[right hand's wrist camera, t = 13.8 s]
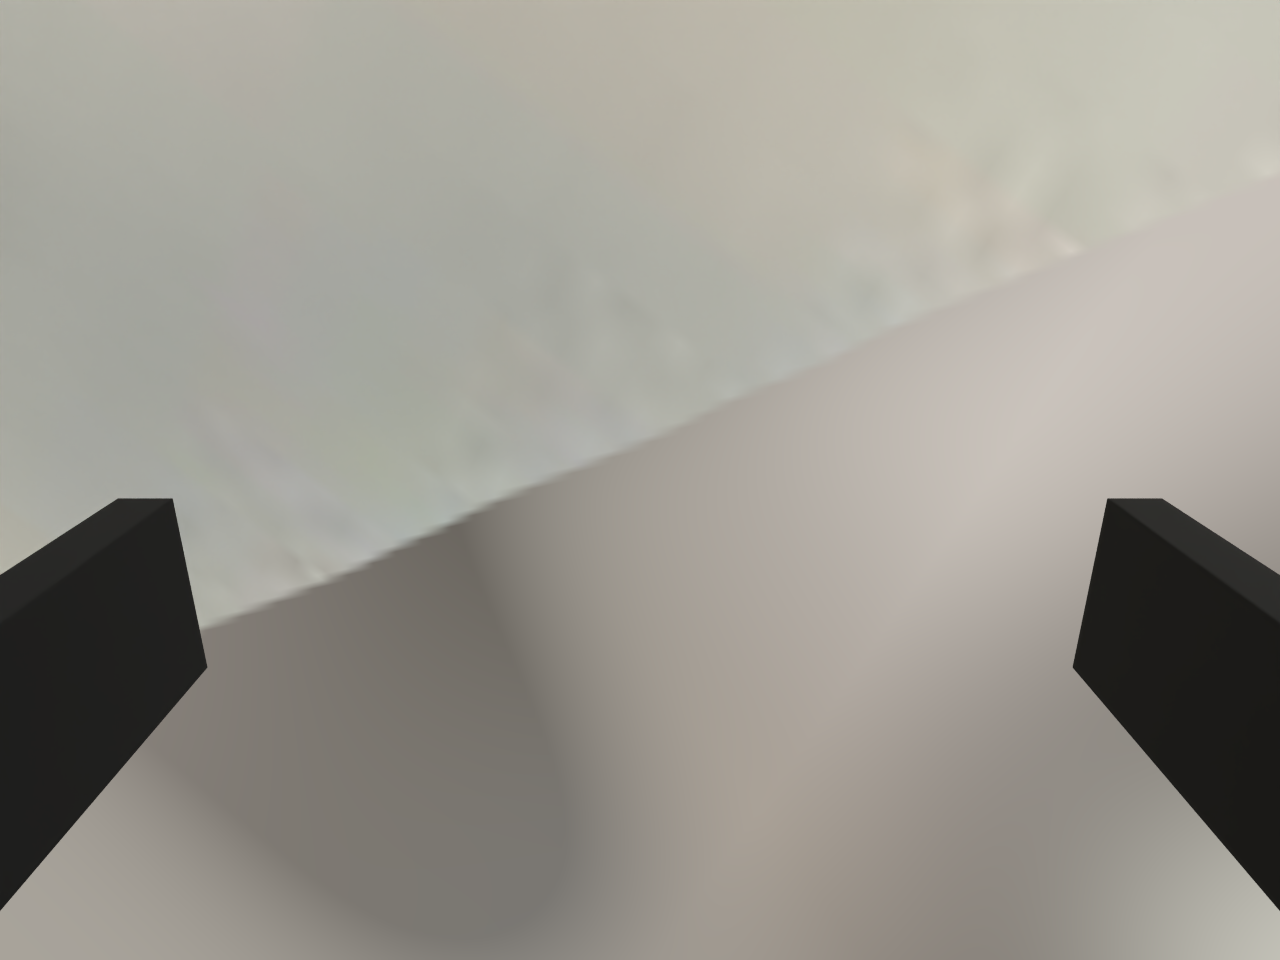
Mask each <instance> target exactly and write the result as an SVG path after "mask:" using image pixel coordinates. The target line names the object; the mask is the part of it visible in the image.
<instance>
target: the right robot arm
mask: <svg viewBox="0 0 1280 960" xmlns="http://www.w3.org/2000/svg"><path fill="white" fill-rule="evenodd" d="M206 668H207V664H206V659H205V654H204V649H203V644H202V639H201V634H200V629H199V625H198V620H197V615H196V610H195V605H194V600H193V595H192V591H191V586H190V581H189V576H188V571H187V566H186V561H185V557H184V552H183V547H182V542H181V537H180V532H179V527H178V523H177V518H176V513H175V508H174V503H173V499H117V500H115V501H113V502H112V503H110V504H109V505H107V506H106V507H104V508H103V509H101V510H100V511H98V512H97V513H95V514H93V515H92V516H90V517H89V518H87V519H86V520H84V521H83V522H81V523H80V524H78V525H77V526H75V527H73V528H72V529H70V530H69V531H67V532H66V533H64V534H63V535H61V536H60V537H58V538H57V539H55V540H53V541H52V542H50V543H49V544H47V545H46V546H44V547H43V548H41V549H40V550H38V551H37V552H35V553H33V554H32V555H30V556H29V557H27V558H26V559H24V560H23V561H21V562H20V563H18V564H17V565H15V566H13V567H12V568H10V569H9V570H7V571H6V572H4V573H3V574H1V575H0V910H1V909H2V908H3V907H4V906H5V904H6V903H7V902H8V901H9V900H10V899H11V897H12V896H13V895H14V894H15V893H16V892H17V890H18V889H19V888H20V887H21V886H22V884H23V883H24V882H25V881H26V880H27V879H28V877H29V876H30V875H31V874H32V873H33V872H34V870H35V869H36V868H37V867H38V866H39V865H40V863H41V862H42V861H43V860H44V859H45V857H46V856H47V855H48V854H49V853H50V852H51V850H52V849H53V848H54V847H55V846H56V845H57V843H58V842H59V841H60V840H61V839H62V838H63V836H64V835H65V834H66V833H67V832H68V830H69V829H70V828H71V827H72V826H73V825H74V823H75V822H76V821H77V820H78V819H79V818H80V816H81V815H82V814H83V813H84V812H85V810H86V809H87V808H88V807H89V806H90V805H91V803H92V802H93V801H94V800H95V799H96V797H97V796H98V795H99V794H100V793H101V792H102V791H103V789H104V788H105V787H106V786H107V785H108V783H109V782H110V781H111V780H112V779H113V778H114V776H115V775H116V774H117V773H118V772H119V771H120V769H121V768H122V767H123V766H124V765H125V764H126V762H127V761H128V760H129V759H130V758H131V756H132V755H133V754H134V753H135V752H136V751H137V749H138V748H139V747H140V746H141V745H142V744H143V742H144V741H145V740H146V739H147V738H148V736H149V735H150V734H151V733H152V732H153V731H154V729H155V728H156V727H157V726H158V725H159V724H160V722H161V721H162V720H163V719H164V718H165V717H166V715H167V714H168V713H169V712H170V711H171V709H172V708H173V707H174V706H175V705H176V704H177V702H178V701H179V700H180V699H181V698H182V697H183V695H184V694H185V693H186V692H187V691H188V690H189V688H190V687H191V686H192V685H193V684H194V682H195V681H196V680H197V679H198V678H199V677H200V675H201V674H202V673H203V672H204V671H205V670H206ZM1073 668H1074V670H1075V671H1076V672H1077V673H1078V674H1079V675H1080V677H1081V678H1082V679H1083V680H1084V681H1085V682H1086V684H1087V685H1088V686H1089V687H1090V688H1091V689H1092V691H1093V692H1094V693H1095V694H1096V695H1097V697H1098V698H1099V699H1100V700H1101V701H1102V702H1103V704H1104V705H1105V706H1106V707H1107V708H1108V709H1109V711H1110V712H1111V713H1112V714H1113V715H1114V717H1115V718H1116V719H1117V720H1118V721H1119V722H1120V724H1121V725H1122V726H1123V727H1124V728H1125V729H1126V731H1127V732H1128V733H1129V734H1130V735H1131V736H1132V738H1133V739H1134V740H1135V741H1136V742H1137V744H1138V745H1139V746H1140V747H1141V748H1142V749H1143V751H1144V752H1145V753H1146V754H1147V755H1148V756H1149V758H1150V759H1151V760H1152V761H1153V762H1154V764H1155V765H1156V766H1157V767H1158V768H1159V769H1160V771H1161V772H1162V773H1163V774H1164V775H1165V776H1166V778H1167V779H1168V780H1169V781H1170V782H1171V783H1172V785H1173V786H1174V787H1175V788H1176V789H1177V790H1178V792H1179V793H1180V794H1181V795H1182V796H1183V798H1184V799H1185V800H1186V801H1187V802H1188V803H1189V805H1190V806H1191V807H1192V808H1193V809H1194V811H1195V812H1196V813H1197V814H1198V815H1199V816H1200V818H1201V819H1202V820H1203V821H1204V822H1205V823H1206V825H1207V826H1208V827H1209V828H1210V829H1211V830H1212V832H1213V833H1214V834H1215V835H1216V836H1217V838H1218V839H1219V840H1220V841H1221V842H1222V843H1223V845H1224V846H1225V847H1226V848H1227V849H1228V850H1229V852H1230V853H1231V854H1232V855H1233V856H1234V857H1235V859H1236V860H1237V861H1238V862H1239V863H1240V865H1241V866H1242V867H1243V868H1244V869H1245V870H1246V872H1247V873H1248V874H1249V875H1250V876H1251V877H1252V879H1253V880H1254V881H1255V882H1256V883H1257V884H1258V886H1259V887H1260V888H1261V889H1262V890H1263V892H1264V893H1265V894H1266V895H1267V896H1268V897H1269V899H1270V900H1271V901H1272V902H1273V903H1274V904H1275V906H1276V907H1277V908H1278V909H1279V910H1280V575H1279V574H1277V573H1276V572H1274V571H1273V570H1271V569H1270V568H1268V567H1267V566H1265V565H1263V564H1262V563H1260V562H1259V561H1257V560H1256V559H1254V558H1253V557H1251V556H1250V555H1248V554H1246V553H1245V552H1243V551H1242V550H1240V549H1239V548H1237V547H1236V546H1234V545H1233V544H1231V543H1230V542H1228V541H1226V540H1225V539H1223V538H1222V537H1220V536H1219V535H1217V534H1216V533H1214V532H1213V531H1211V530H1210V529H1208V528H1206V527H1205V526H1203V525H1202V524H1200V523H1199V522H1197V521H1196V520H1194V519H1193V518H1191V517H1190V516H1188V515H1187V514H1185V513H1183V512H1182V511H1180V510H1179V509H1177V508H1176V507H1174V506H1173V505H1171V504H1170V503H1168V502H1167V501H1165V500H1163V499H1107V503H1106V508H1105V513H1104V518H1103V523H1102V528H1101V532H1100V537H1099V542H1098V547H1097V552H1096V557H1095V561H1094V566H1093V571H1092V576H1091V581H1090V586H1089V591H1088V595H1087V600H1086V605H1085V610H1084V615H1083V620H1082V625H1081V629H1080V634H1079V639H1078V644H1077V649H1076V654H1075V659H1074V663H1073Z"/></svg>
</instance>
